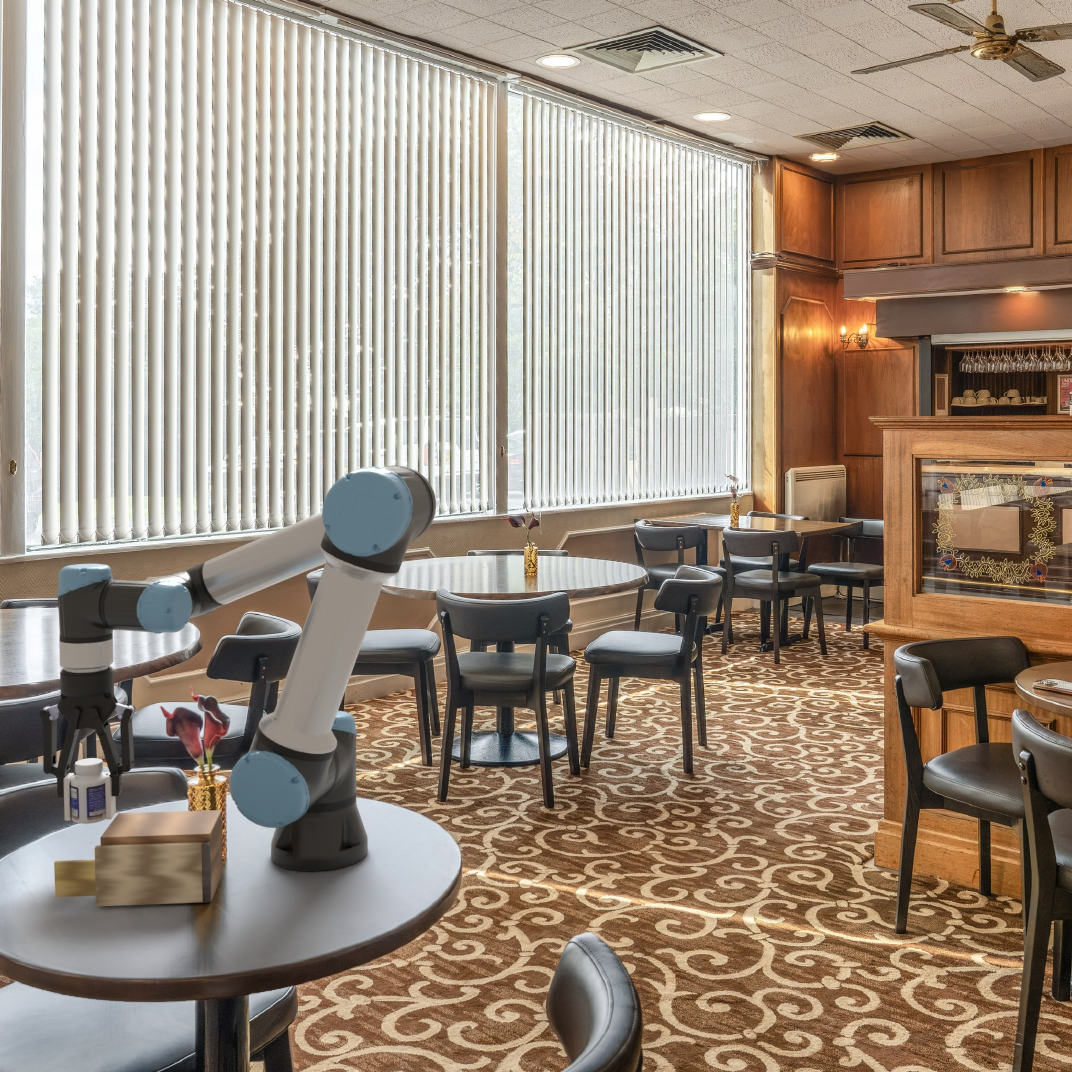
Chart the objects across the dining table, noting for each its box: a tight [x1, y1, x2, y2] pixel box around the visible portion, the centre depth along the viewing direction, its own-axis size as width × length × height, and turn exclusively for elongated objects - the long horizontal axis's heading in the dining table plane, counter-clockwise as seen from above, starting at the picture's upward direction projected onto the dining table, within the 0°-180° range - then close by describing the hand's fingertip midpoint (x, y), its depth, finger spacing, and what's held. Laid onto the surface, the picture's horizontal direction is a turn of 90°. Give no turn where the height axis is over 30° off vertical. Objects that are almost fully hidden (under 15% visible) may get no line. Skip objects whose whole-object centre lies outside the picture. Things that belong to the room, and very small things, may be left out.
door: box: [53, 841, 212, 907], centre depth 158 cm, size 21×1×8 cm, turn 97°
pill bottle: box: [71, 757, 108, 825], centre depth 170 cm, size 5×5×9 cm
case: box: [99, 809, 224, 903], centre depth 164 cm, size 15×10×10 cm
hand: (90, 816), depth 171 cm, fingers closed on pill bottle, 5 cm apart
